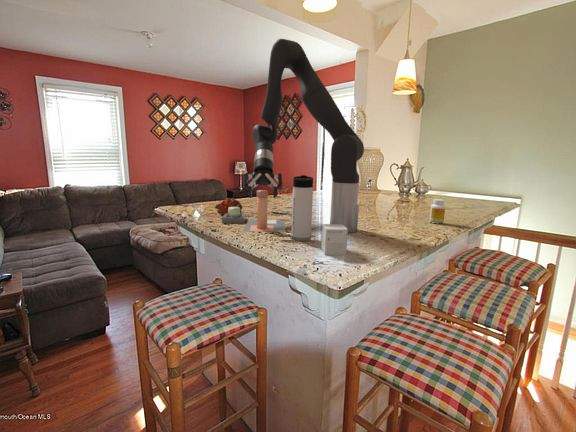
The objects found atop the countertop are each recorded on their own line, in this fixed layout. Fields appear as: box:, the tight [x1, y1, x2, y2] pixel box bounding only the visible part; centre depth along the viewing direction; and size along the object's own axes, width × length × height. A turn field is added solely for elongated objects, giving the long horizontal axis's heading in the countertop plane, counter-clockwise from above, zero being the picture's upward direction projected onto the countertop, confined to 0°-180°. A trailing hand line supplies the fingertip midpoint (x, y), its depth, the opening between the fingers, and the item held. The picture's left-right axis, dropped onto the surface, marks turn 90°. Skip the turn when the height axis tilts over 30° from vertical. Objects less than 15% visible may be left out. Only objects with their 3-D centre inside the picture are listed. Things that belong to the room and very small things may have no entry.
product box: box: [320, 223, 349, 256], centre depth 86 cm, size 6×6×7 cm
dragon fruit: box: [214, 197, 243, 215], centre depth 130 cm, size 8×8×12 cm
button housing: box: [221, 213, 247, 224], centre depth 117 cm, size 8×8×3 cm
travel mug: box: [291, 174, 314, 242], centre depth 97 cm, size 6×7×20 cm
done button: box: [228, 207, 241, 217], centre depth 117 cm, size 4×4×4 cm
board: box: [243, 219, 286, 233], centre depth 111 cm, size 14×18×1 cm
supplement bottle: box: [428, 198, 446, 224], centre depth 126 cm, size 5×5×10 cm
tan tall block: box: [256, 189, 269, 229], centre depth 106 cm, size 4×4×13 cm
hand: (262, 196), depth 111 cm, fingers open, 8 cm apart
